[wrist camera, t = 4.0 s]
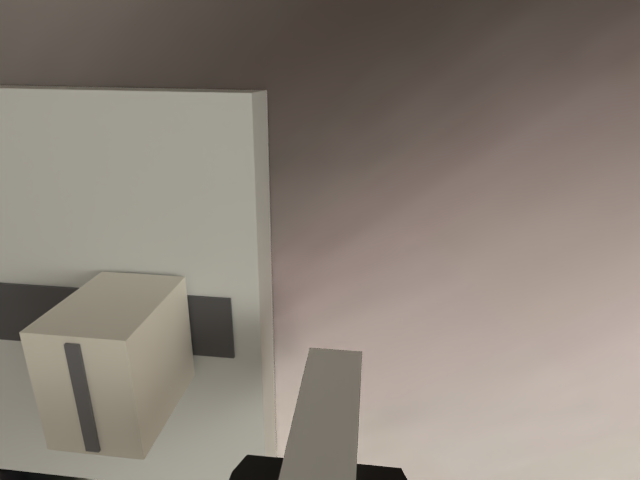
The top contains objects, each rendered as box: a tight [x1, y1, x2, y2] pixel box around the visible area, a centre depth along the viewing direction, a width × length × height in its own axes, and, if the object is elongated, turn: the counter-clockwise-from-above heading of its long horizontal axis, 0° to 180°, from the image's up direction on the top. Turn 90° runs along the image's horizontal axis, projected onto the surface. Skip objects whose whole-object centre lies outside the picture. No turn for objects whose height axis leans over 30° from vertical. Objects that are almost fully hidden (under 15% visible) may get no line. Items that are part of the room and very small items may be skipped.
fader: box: [19, 272, 195, 460], centre depth 15 cm, size 4×3×4 cm
